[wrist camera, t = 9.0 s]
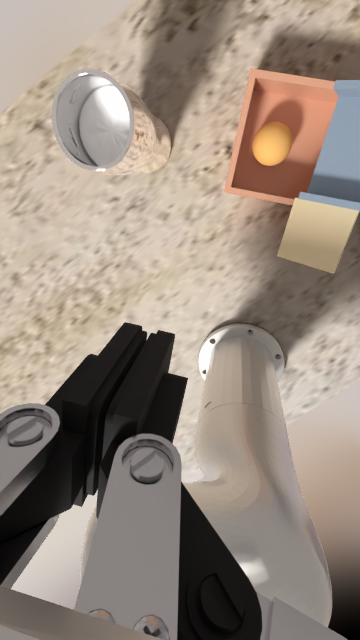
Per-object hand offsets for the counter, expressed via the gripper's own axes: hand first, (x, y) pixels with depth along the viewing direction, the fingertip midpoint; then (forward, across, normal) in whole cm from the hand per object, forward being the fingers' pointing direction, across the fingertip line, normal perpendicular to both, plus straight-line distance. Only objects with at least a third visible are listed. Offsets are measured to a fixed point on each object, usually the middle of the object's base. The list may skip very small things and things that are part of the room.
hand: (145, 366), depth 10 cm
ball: (+30, -4, -10) cm, 31 cm away
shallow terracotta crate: (+32, -6, -10) cm, 34 cm away
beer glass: (+32, +10, -8) cm, 35 cm away
